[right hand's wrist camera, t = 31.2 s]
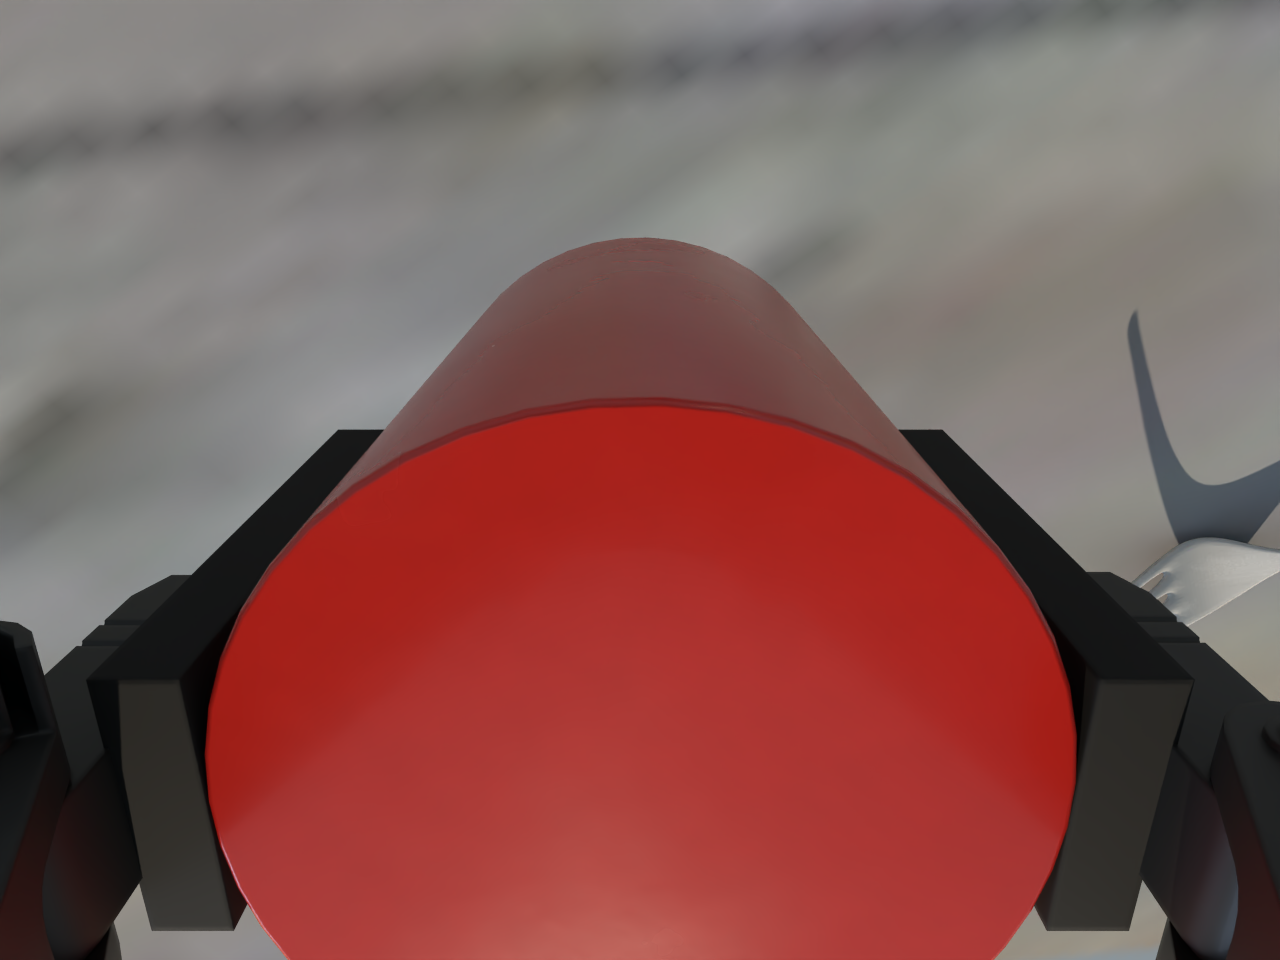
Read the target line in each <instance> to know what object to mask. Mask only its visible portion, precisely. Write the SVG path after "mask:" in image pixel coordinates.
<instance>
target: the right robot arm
mask: <svg viewBox="0 0 1280 960" xmlns="http://www.w3.org/2000/svg"><path fill="white" fill-rule="evenodd" d="M383 431H384V430H338V431H337V432H336V433H335V434H333V435H332V436H331V437H330V438H329V439H328V440H327V441H326V442H325V443H324V444H323V445H322V446H321V447H320V448H319V449H318V450H317V451H316V452H315V453H314V454H313V455H312V456H311V457H310V458H309V459H308V460H307V461H306V462H305V463H304V464H303V465H302V466H301V467H300V468H299V469H298V470H297V471H296V472H295V473H294V474H293V475H292V476H291V477H290V478H289V479H288V480H287V481H286V482H285V483H284V484H283V485H282V486H281V487H280V488H279V489H278V490H277V491H276V492H275V493H274V494H273V495H272V496H271V497H270V498H269V499H268V500H267V501H266V502H265V503H264V504H263V505H262V506H261V507H260V508H259V509H258V510H257V511H256V512H255V513H254V514H253V515H252V516H251V517H250V518H249V519H248V520H247V521H246V522H245V523H244V524H243V525H242V526H241V527H240V528H239V529H238V530H236V531H235V532H234V533H233V534H232V535H231V536H230V537H229V538H228V539H227V540H226V541H225V542H224V543H223V544H222V545H221V546H220V547H219V548H218V549H217V550H216V551H215V552H214V553H213V554H212V555H211V556H210V557H209V558H208V559H207V560H206V561H205V562H204V563H203V564H202V565H201V566H200V567H199V568H198V569H197V570H196V571H195V572H194V573H193V574H192V575H171V576H169V577H167V578H165V579H163V580H161V581H159V582H157V583H155V584H153V585H152V586H150V587H148V588H146V589H144V590H142V591H140V592H138V593H136V594H134V595H132V596H131V597H130V598H129V599H128V600H126V601H125V602H124V603H123V604H122V605H121V606H120V607H119V608H118V609H117V610H116V611H114V612H113V613H112V614H111V615H110V616H109V617H108V618H107V619H106V620H105V624H104V625H99V626H98V627H97V628H96V629H95V630H94V631H93V632H91V633H90V634H89V635H88V636H87V637H86V638H85V639H84V640H83V641H82V646H76V647H75V648H74V649H73V650H72V651H71V652H70V653H68V654H67V655H66V656H65V657H64V658H63V659H62V660H61V661H60V662H59V663H58V664H56V665H55V666H54V667H53V668H52V669H51V670H50V671H49V672H48V673H47V674H45V675H44V673H43V670H42V666H41V663H40V659H39V656H38V652H37V649H36V645H35V642H34V638H33V634H32V632H31V631H30V630H28V629H26V628H25V627H23V626H22V625H20V624H18V623H14V622H6V621H0V960H122V958H121V950H120V943H119V939H118V936H117V932H116V928H115V925H114V920H115V919H116V917H117V916H118V914H119V913H120V911H121V910H122V908H123V907H124V905H125V904H126V902H127V901H128V899H129V898H130V896H131V894H132V893H133V891H134V890H135V888H136V887H137V885H138V884H140V888H141V891H142V895H143V899H144V903H145V907H146V910H147V914H148V918H149V922H150V926H151V929H152V931H234V929H235V927H236V925H237V923H238V921H239V919H240V917H241V916H242V914H243V912H244V910H245V908H246V906H247V902H246V900H245V899H244V897H243V895H242V894H241V892H240V890H239V889H238V887H237V884H236V882H235V880H234V877H233V875H232V872H231V870H230V868H229V865H228V863H227V861H226V858H225V856H224V853H223V851H222V849H221V846H220V843H219V839H218V835H217V831H216V827H215V823H214V819H213V815H212V811H211V807H210V803H209V796H208V785H207V773H206V762H205V745H206V732H207V719H208V706H209V700H210V696H211V692H212V688H213V684H214V680H215V676H216V672H217V668H218V664H219V660H220V656H221V654H222V651H223V649H224V647H225V644H226V642H227V640H228V637H229V635H230V633H231V631H232V628H233V626H234V624H235V621H236V619H237V617H238V614H239V612H240V610H241V608H242V606H243V605H244V603H245V602H246V600H247V599H248V597H249V596H250V594H251V592H252V591H253V589H254V588H255V586H256V585H257V583H258V581H259V580H260V578H261V577H262V575H263V574H264V572H265V571H266V569H267V567H268V566H269V564H270V563H271V562H272V561H273V560H274V558H275V557H276V556H277V555H278V554H279V553H280V551H281V550H282V549H283V548H284V547H285V546H286V544H287V543H288V542H289V541H290V540H291V539H292V537H293V536H294V535H295V534H296V533H297V532H298V530H299V529H300V528H301V527H302V526H303V525H304V523H305V522H306V521H307V520H308V519H309V518H310V516H311V515H312V514H313V513H314V512H315V510H316V509H317V508H318V507H319V506H320V505H321V503H322V502H323V501H324V500H325V499H326V498H327V496H328V495H329V494H330V493H331V492H332V491H333V489H334V488H335V487H336V486H337V485H338V484H339V482H340V481H341V480H342V479H343V478H344V477H345V475H346V474H347V473H348V472H349V471H350V469H351V468H352V467H353V466H354V465H355V464H356V462H357V461H358V460H359V459H360V458H361V457H362V455H363V454H364V453H365V452H366V451H367V450H368V448H369V447H370V446H371V445H372V444H373V443H374V441H375V440H376V439H377V438H378V437H379V436H380V434H381V433H382V432H383ZM899 432H900V433H901V434H902V435H903V436H904V437H905V439H906V440H907V441H908V442H909V443H910V444H911V446H912V447H913V448H914V449H915V450H916V451H917V452H918V454H919V455H920V456H921V457H922V458H923V459H924V461H925V462H926V463H927V464H928V465H929V466H930V468H931V469H932V470H933V471H934V472H935V473H936V475H937V476H938V477H939V478H940V479H941V480H942V482H943V483H944V484H945V485H946V486H947V487H948V489H949V490H950V491H951V492H952V493H953V494H954V495H955V497H956V498H957V499H958V500H959V501H960V502H961V504H962V505H963V506H964V507H965V508H966V509H967V511H968V512H969V513H970V514H971V515H972V516H973V518H974V519H975V520H976V521H977V522H978V523H979V525H980V526H981V527H982V528H983V529H984V530H985V532H986V533H987V534H988V535H989V536H990V537H991V538H992V540H993V541H994V542H995V543H996V544H997V545H998V547H999V548H1000V549H1001V551H1002V552H1003V553H1004V555H1005V556H1006V557H1007V559H1008V560H1009V562H1010V563H1011V564H1012V566H1013V567H1014V568H1015V570H1016V571H1017V572H1018V574H1019V575H1020V576H1021V578H1022V579H1023V581H1024V582H1025V583H1026V585H1027V586H1028V587H1029V589H1030V590H1031V592H1032V594H1033V596H1034V598H1035V600H1036V602H1037V604H1038V605H1039V607H1040V609H1041V611H1042V613H1043V615H1044V617H1045V619H1046V621H1047V623H1048V625H1049V627H1050V629H1051V631H1052V633H1053V635H1054V637H1055V640H1056V643H1057V646H1058V649H1059V652H1060V655H1061V658H1062V661H1063V665H1064V668H1065V671H1066V674H1067V677H1068V680H1069V683H1070V689H1071V696H1072V703H1073V710H1074V717H1075V724H1076V731H1077V750H1076V784H1075V789H1074V795H1073V800H1072V806H1071V811H1070V817H1069V822H1068V827H1067V830H1066V833H1065V836H1064V839H1063V842H1062V844H1061V847H1060V850H1059V853H1058V856H1057V859H1056V862H1055V864H1054V867H1053V870H1052V872H1051V874H1050V876H1049V878H1048V880H1047V882H1046V884H1045V885H1044V887H1043V889H1042V891H1041V893H1040V895H1039V897H1038V899H1037V901H1036V903H1035V905H1034V906H1035V908H1036V910H1037V912H1038V914H1039V916H1040V918H1041V920H1042V922H1043V924H1044V926H1045V928H1046V930H1047V931H1129V928H1130V925H1131V921H1132V917H1133V913H1134V909H1135V906H1136V902H1137V898H1138V894H1139V890H1140V887H1141V883H1142V880H1143V881H1144V883H1145V884H1146V886H1147V887H1148V889H1149V890H1150V892H1151V893H1152V895H1153V896H1154V898H1155V899H1156V901H1157V902H1158V903H1159V905H1160V906H1161V908H1162V909H1163V911H1164V912H1165V914H1166V915H1167V917H1168V918H1167V921H1166V925H1165V928H1164V932H1163V936H1162V939H1161V943H1160V946H1159V950H1158V953H1157V957H1156V960H1280V702H1276V701H1269V700H1268V699H1267V698H1266V697H1264V696H1263V695H1262V694H1261V693H1260V692H1259V691H1258V690H1257V689H1256V688H1255V687H1253V686H1252V685H1251V684H1250V683H1249V682H1248V681H1247V680H1246V679H1245V678H1244V677H1242V676H1241V675H1240V674H1239V673H1238V672H1237V671H1236V670H1235V669H1234V668H1232V667H1231V666H1230V665H1229V664H1228V663H1227V662H1226V661H1225V660H1224V659H1223V658H1221V657H1220V656H1219V655H1218V654H1217V653H1216V652H1215V651H1214V650H1213V649H1211V648H1210V647H1209V646H1208V645H1207V644H1206V643H1200V641H1199V637H1198V636H1197V635H1196V634H1195V633H1194V632H1193V631H1192V630H1191V629H1189V628H1188V627H1187V626H1186V625H1185V624H1184V623H1183V622H1177V617H1176V616H1175V615H1174V614H1173V613H1172V612H1171V611H1170V610H1168V609H1167V608H1166V607H1165V606H1164V605H1163V604H1162V603H1161V602H1160V601H1159V600H1157V599H1156V598H1155V597H1154V596H1153V595H1152V594H1151V593H1149V592H1147V591H1146V590H1144V589H1142V588H1140V587H1138V586H1136V585H1134V584H1132V583H1130V582H1128V581H1126V580H1124V579H1122V578H1120V577H1118V576H1116V575H1115V574H1113V573H1111V572H1086V571H1085V570H1084V569H1083V568H1082V567H1081V566H1080V565H1079V564H1078V563H1077V562H1076V561H1075V560H1073V559H1072V558H1071V557H1070V556H1069V555H1068V554H1067V553H1066V552H1065V551H1064V550H1063V549H1062V548H1061V547H1060V546H1059V545H1058V544H1057V543H1056V542H1055V541H1054V540H1053V539H1052V538H1051V537H1050V536H1049V535H1048V534H1047V533H1046V532H1045V531H1044V530H1043V529H1042V528H1041V527H1040V526H1039V525H1038V524H1037V523H1036V522H1035V521H1034V520H1033V519H1032V518H1031V517H1030V516H1029V515H1028V514H1027V513H1026V512H1025V511H1024V510H1023V509H1022V508H1021V507H1020V506H1019V505H1018V504H1017V503H1016V502H1015V501H1014V500H1013V499H1012V498H1011V497H1010V496H1009V495H1008V494H1007V493H1006V492H1005V491H1004V490H1003V489H1002V488H1001V487H1000V486H999V485H998V484H997V483H996V482H995V481H994V480H993V479H992V478H991V477H990V476H989V475H988V474H987V473H986V472H985V471H984V470H983V469H982V468H980V467H979V466H978V465H977V464H976V463H975V462H974V461H973V460H972V459H971V458H970V457H969V456H968V455H967V454H966V453H965V452H964V451H963V450H962V449H961V448H960V447H959V446H958V445H957V444H956V443H955V442H954V441H953V440H952V439H951V438H950V437H949V436H948V435H947V434H946V433H945V432H944V431H943V430H899Z"/></svg>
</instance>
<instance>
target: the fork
mask: <svg viewBox="0 0 1280 960" xmlns="http://www.w3.org/2000/svg"><path fill="white" fill-rule="evenodd" d="M1279 571H1280V549H1272V548H1266V547H1261V546H1256V545H1252V544H1247V543H1243V542H1239V541H1234V540H1229V539H1223V538H1212V537H1207V538H1196V539H1192V540H1189V541H1186V542H1184V543H1181V544H1179V545H1178V546H1176V547H1174V548H1173V549H1171V550H1170V551H1169V552H1167V553H1166V554H1165V555H1163V556H1162V557H1161V558H1160V559H1158V560H1157V561H1156V562H1155V563H1153V564H1152V565H1151V566H1150V567H1149V568H1147V569H1146V570H1145V571H1144V572H1143V573H1142V574H1140V575H1139V576H1138V577H1137V578H1136V579H1135V580H1134V581H1133V582H1132V584H1134V585H1136V586H1138V587H1140V588H1141V587H1142V586H1143V585H1144V584H1146V583H1147V582H1148V581H1150V580H1151V579H1153V578H1154V577H1155V576H1157V575H1159V574H1161V573H1164V576H1163V578H1162V580H1161V581H1160V582H1159V583H1158V584H1157V585H1156V586H1155V587H1154V588H1153V589H1152V590H1150V591H1149V593H1151V594H1152V595H1153V596H1154V597H1155V598H1156V599H1158V598H1160V597H1161V596H1163V595H1165V594H1167V595H1168V597H1167V599H1166V601H1165V602H1164V603H1163V605H1164V606H1165V607H1166V608H1167V609H1168V610H1170V611H1171V612H1172V613H1173V614H1174V615H1175V616H1176V617H1177V622H1183V623H1184V624H1185V625H1186V626H1188V625H1190V624H1192V623H1194V622H1196V621H1197V620H1199V619H1201V618H1203V617H1205V616H1207V615H1208V614H1210V613H1212V612H1213V611H1215V610H1217V609H1218V608H1220V607H1222V606H1223V605H1225V604H1227V603H1228V602H1230V601H1231V600H1233V599H1235V598H1236V597H1238V596H1239V595H1241V594H1243V593H1244V592H1246V591H1247V590H1249V589H1250V588H1252V587H1254V586H1255V585H1257V584H1258V583H1260V582H1262V581H1263V580H1265V579H1267V578H1268V577H1270V576H1272V575H1274V574H1275V573H1277V572H1279Z"/></svg>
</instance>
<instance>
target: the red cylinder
mask: <svg viewBox="0 0 1280 960" xmlns="http://www.w3.org/2000/svg"><path fill="white" fill-rule="evenodd" d="M1076 750H1077V731H1076V724H1075V717H1074V710H1073V703H1072V696H1071V689H1070V683H1069V680H1068V677H1067V674H1066V671H1065V668H1064V665H1063V661H1062V658H1061V655H1060V652H1059V649H1058V646H1057V643H1056V640H1055V637H1054V635H1053V633H1052V631H1051V629H1050V627H1049V625H1048V623H1047V621H1046V619H1045V617H1044V615H1043V613H1042V611H1041V609H1040V607H1039V605H1038V604H1037V602H1036V600H1035V598H1034V596H1033V594H1032V592H1031V590H1030V589H1029V587H1028V586H1027V585H1026V583H1025V582H1024V581H1023V579H1022V578H1021V576H1020V575H1019V574H1018V572H1017V571H1016V570H1015V568H1014V567H1013V566H1012V564H1011V563H1010V562H1009V560H1008V559H1007V557H1006V556H1005V555H1004V553H1003V552H1002V551H1001V549H1000V548H999V547H998V545H997V544H996V543H995V542H994V541H993V540H992V538H991V537H990V536H989V535H988V534H987V533H986V532H985V530H984V529H983V528H982V527H981V526H980V525H979V523H978V522H977V521H976V520H975V519H974V518H973V516H972V515H971V514H970V513H969V512H968V511H967V509H966V508H965V507H964V506H963V505H962V504H961V502H960V501H959V500H958V499H957V498H956V497H955V495H954V494H953V493H952V492H951V491H950V490H949V489H948V487H947V486H946V485H945V484H944V483H943V482H942V480H941V479H940V478H939V477H938V476H937V475H936V473H935V472H934V471H933V470H932V469H931V468H930V466H929V465H928V464H927V463H926V462H925V461H924V459H923V458H922V457H921V456H920V455H919V454H918V452H917V451H916V450H915V449H914V448H913V447H912V446H911V444H910V443H909V442H908V441H907V440H906V439H905V437H904V436H903V435H902V434H901V433H900V432H899V430H898V429H897V428H896V427H895V426H894V425H893V423H892V422H891V421H890V420H889V419H888V418H887V416H886V415H885V414H884V413H883V412H882V411H881V409H880V408H879V407H878V406H877V405H876V404H875V403H874V401H873V400H872V399H871V398H870V397H869V396H868V394H867V393H866V392H865V391H864V390H863V389H862V387H861V386H860V385H859V384H858V383H857V382H856V380H855V379H854V378H853V377H852V376H851V375H850V373H849V372H848V371H847V370H846V369H845V368H844V366H843V365H842V364H841V363H840V362H839V361H838V360H837V358H836V357H835V356H834V355H833V354H832V353H831V351H830V350H829V349H828V348H827V347H826V346H825V344H824V343H823V342H822V341H821V340H820V339H819V337H818V336H817V335H816V334H815V333H814V332H813V330H812V329H811V328H810V327H809V326H808V325H807V323H806V322H805V321H804V320H803V319H802V318H801V317H800V315H799V314H798V313H797V312H796V311H795V310H794V308H793V307H792V306H791V305H790V304H789V303H788V302H787V301H786V300H785V299H784V298H783V297H782V296H781V295H780V294H779V293H778V292H777V291H776V290H775V289H774V288H773V287H772V286H771V285H770V284H768V283H767V282H766V281H764V280H763V279H762V278H760V277H759V276H758V275H757V274H755V273H754V272H753V271H751V270H750V269H748V268H746V267H744V266H742V265H741V264H739V263H737V262H735V261H734V260H732V259H730V258H728V257H726V256H724V255H721V254H718V253H716V252H713V251H711V250H708V249H706V248H703V247H700V246H696V245H692V244H688V243H684V242H680V241H675V240H666V239H656V238H621V239H615V240H609V241H603V242H597V243H592V244H589V245H586V246H582V247H579V248H576V249H573V250H569V251H567V252H565V253H563V254H560V255H558V256H556V257H554V258H552V259H550V260H547V261H545V262H543V263H542V264H540V265H539V266H537V267H535V268H534V269H532V270H531V271H529V272H528V273H526V274H525V275H523V276H521V277H520V278H519V279H518V280H517V281H516V282H514V283H513V284H512V285H511V286H510V287H509V288H507V289H506V290H505V291H504V292H503V293H502V294H500V296H499V297H498V298H497V299H496V300H495V301H494V302H493V304H492V305H491V306H490V307H489V308H488V309H487V310H486V311H485V313H484V314H483V315H482V316H481V317H480V318H479V320H478V321H477V322H476V323H475V324H474V325H473V327H472V328H471V329H470V330H469V331H468V332H467V334H466V335H465V336H464V337H463V338H462V340H461V341H460V342H459V343H458V344H457V345H456V347H455V348H454V349H453V350H452V351H451V352H450V354H449V355H448V356H447V357H446V358H445V359H444V361H443V362H442V363H441V364H440V365H439V366H438V368H437V369H436V370H435V371H434V372H433V373H432V375H431V376H430V377H429V378H428V379H427V380H426V382H425V383H424V384H423V385H422V386H421V388H420V389H419V390H418V391H417V392H416V393H415V395H414V396H413V397H412V398H411V399H410V400H409V402H408V403H407V404H406V405H405V406H404V407H403V409H402V410H401V411H400V412H399V413H398V414H397V416H396V417H395V418H394V419H393V420H392V421H391V423H390V424H389V425H388V426H387V427H386V429H385V430H384V431H383V432H382V433H381V434H380V436H379V437H378V438H377V439H376V440H375V441H374V443H373V444H372V445H371V446H370V447H369V448H368V450H367V451H366V452H365V453H364V454H363V455H362V457H361V458H360V459H359V460H358V461H357V462H356V464H355V465H354V466H353V467H352V468H351V469H350V471H349V472H348V473H347V474H346V475H345V477H344V478H343V479H342V480H341V481H340V482H339V484H338V485H337V486H336V487H335V488H334V489H333V491H332V492H331V493H330V494H329V495H328V496H327V498H326V499H325V500H324V501H323V502H322V503H321V505H320V506H319V507H318V508H317V509H316V510H315V512H314V513H313V514H312V515H311V516H310V518H309V519H308V520H307V521H306V522H305V523H304V525H303V526H302V527H301V528H300V529H299V530H298V532H297V533H296V534H295V535H294V536H293V537H292V539H291V540H290V541H289V542H288V543H287V544H286V546H285V547H284V548H283V549H282V550H281V551H280V553H279V554H278V555H277V556H276V557H275V558H274V560H273V561H272V562H271V563H270V564H269V566H268V567H267V569H266V571H265V572H264V574H263V575H262V577H261V578H260V580H259V581H258V583H257V585H256V586H255V588H254V589H253V591H252V592H251V594H250V596H249V597H248V599H247V600H246V602H245V603H244V605H243V606H242V608H241V610H240V612H239V614H238V617H237V619H236V621H235V624H234V626H233V628H232V631H231V633H230V635H229V637H228V640H227V642H226V644H225V647H224V649H223V651H222V654H221V656H220V660H219V664H218V668H217V672H216V676H215V680H214V684H213V688H212V692H211V696H210V700H209V706H208V719H207V732H206V745H205V762H206V773H207V785H208V796H209V803H210V807H211V811H212V815H213V819H214V823H215V827H216V831H217V835H218V839H219V843H220V846H221V849H222V851H223V853H224V856H225V858H226V861H227V863H228V865H229V868H230V870H231V872H232V875H233V877H234V880H235V882H236V884H237V887H238V889H239V890H240V892H241V894H242V895H243V897H244V899H245V900H246V902H247V904H248V905H249V907H250V909H251V910H252V912H253V914H254V915H255V917H256V919H257V920H258V922H259V924H260V925H261V927H262V928H263V929H264V930H265V932H266V933H267V934H268V935H269V937H270V938H271V939H272V940H273V942H274V943H275V944H276V945H277V947H278V948H279V949H280V950H281V952H282V953H283V954H284V955H285V957H286V958H287V959H288V960H994V959H995V958H996V957H997V955H998V954H999V953H1000V952H1001V951H1002V950H1003V949H1004V948H1005V947H1006V945H1007V944H1008V942H1009V941H1010V940H1011V938H1012V937H1013V935H1014V934H1015V933H1016V931H1017V930H1018V928H1019V927H1020V926H1021V924H1022V923H1023V921H1024V920H1025V919H1026V917H1027V916H1028V914H1029V913H1030V912H1031V910H1032V908H1033V906H1034V905H1035V903H1036V901H1037V899H1038V897H1039V895H1040V893H1041V891H1042V889H1043V887H1044V885H1045V884H1046V882H1047V880H1048V878H1049V876H1050V874H1051V872H1052V870H1053V867H1054V864H1055V862H1056V859H1057V856H1058V853H1059V850H1060V847H1061V844H1062V842H1063V839H1064V836H1065V833H1066V830H1067V827H1068V822H1069V817H1070V811H1071V806H1072V800H1073V795H1074V789H1075V784H1076Z"/></svg>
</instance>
